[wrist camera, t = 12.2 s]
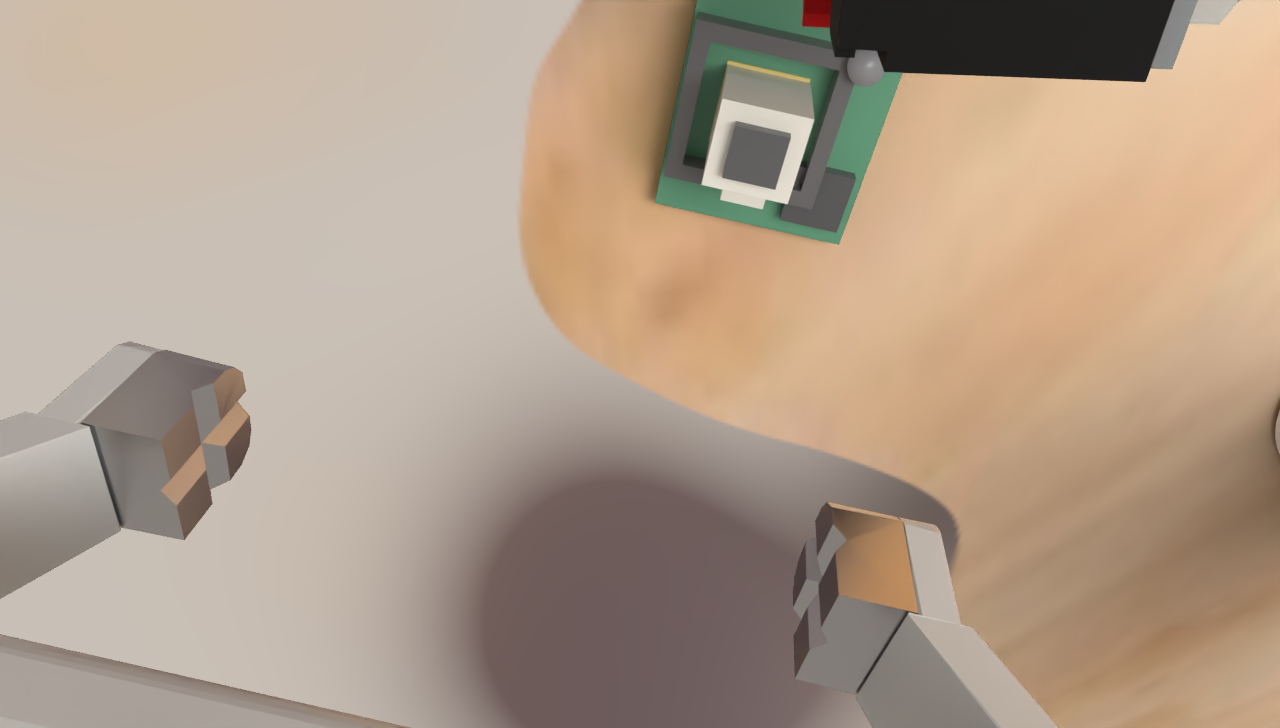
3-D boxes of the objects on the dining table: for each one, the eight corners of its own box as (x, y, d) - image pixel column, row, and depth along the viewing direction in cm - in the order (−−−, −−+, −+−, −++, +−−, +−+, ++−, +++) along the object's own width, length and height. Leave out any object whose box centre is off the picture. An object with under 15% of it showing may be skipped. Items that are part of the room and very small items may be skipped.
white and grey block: (810, 83, 39) (814, 124, 34) (783, 172, 42) (783, 222, 37) (727, 64, 39) (721, 103, 34) (705, 155, 42) (697, 202, 37)
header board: (922, 2, 37) (932, 20, 35) (837, 234, 45) (841, 263, 42) (707, -46, 37) (702, -33, 35) (657, 193, 45) (649, 219, 42)
